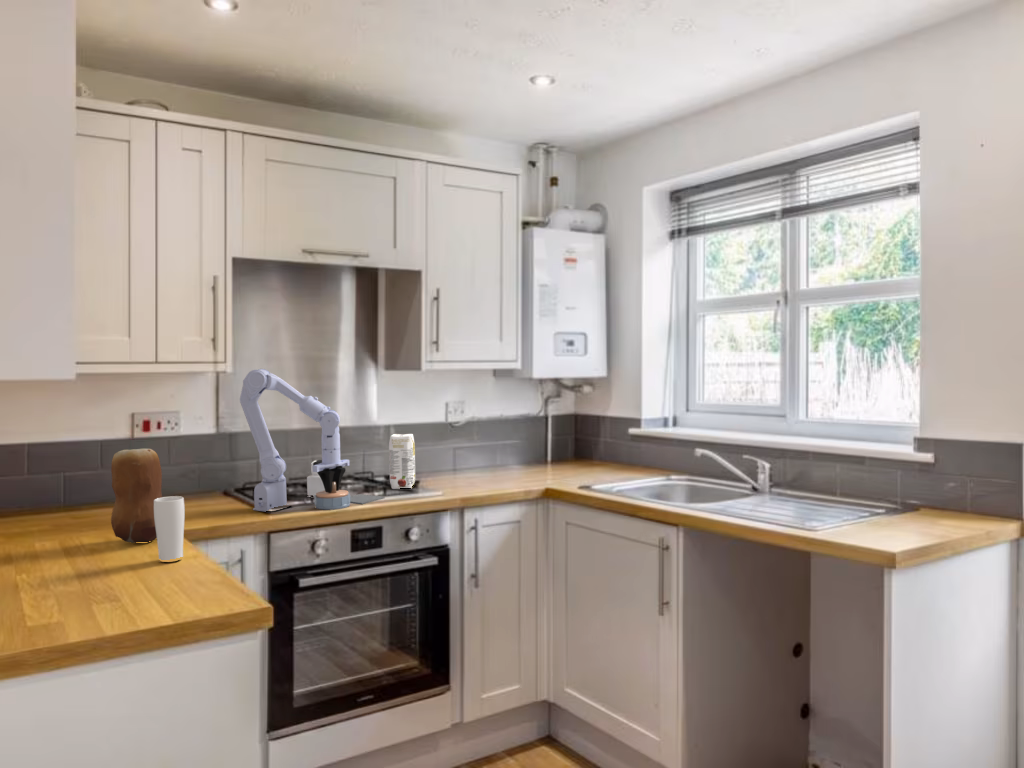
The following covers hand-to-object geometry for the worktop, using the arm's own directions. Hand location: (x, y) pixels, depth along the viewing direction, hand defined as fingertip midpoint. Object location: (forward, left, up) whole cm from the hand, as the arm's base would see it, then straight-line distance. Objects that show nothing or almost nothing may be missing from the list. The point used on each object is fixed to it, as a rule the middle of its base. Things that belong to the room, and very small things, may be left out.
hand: (332, 491), depth 247 cm
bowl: (0, 0, -5) cm, 5 cm away
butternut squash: (-58, +12, -5) cm, 59 cm away
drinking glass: (-65, -10, -5) cm, 66 cm away
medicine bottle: (+11, +16, -5) cm, 20 cm away
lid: (0, 0, -1) cm, 1 cm away
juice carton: (+35, 0, -5) cm, 35 cm away
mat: (+12, -1, -5) cm, 13 cm away
